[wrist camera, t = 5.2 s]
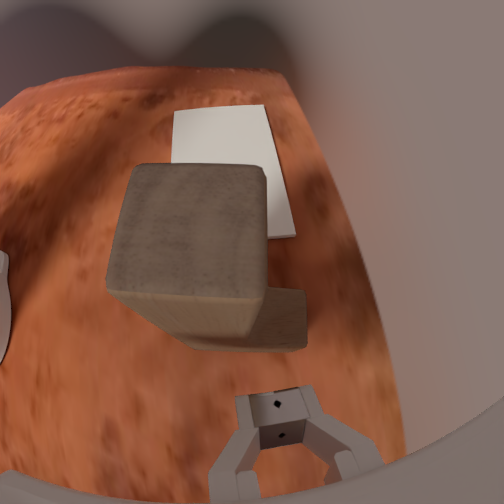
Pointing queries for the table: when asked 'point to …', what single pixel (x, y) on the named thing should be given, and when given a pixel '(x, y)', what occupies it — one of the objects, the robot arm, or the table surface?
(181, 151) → the white board
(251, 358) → the table surface
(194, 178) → the wooden block
